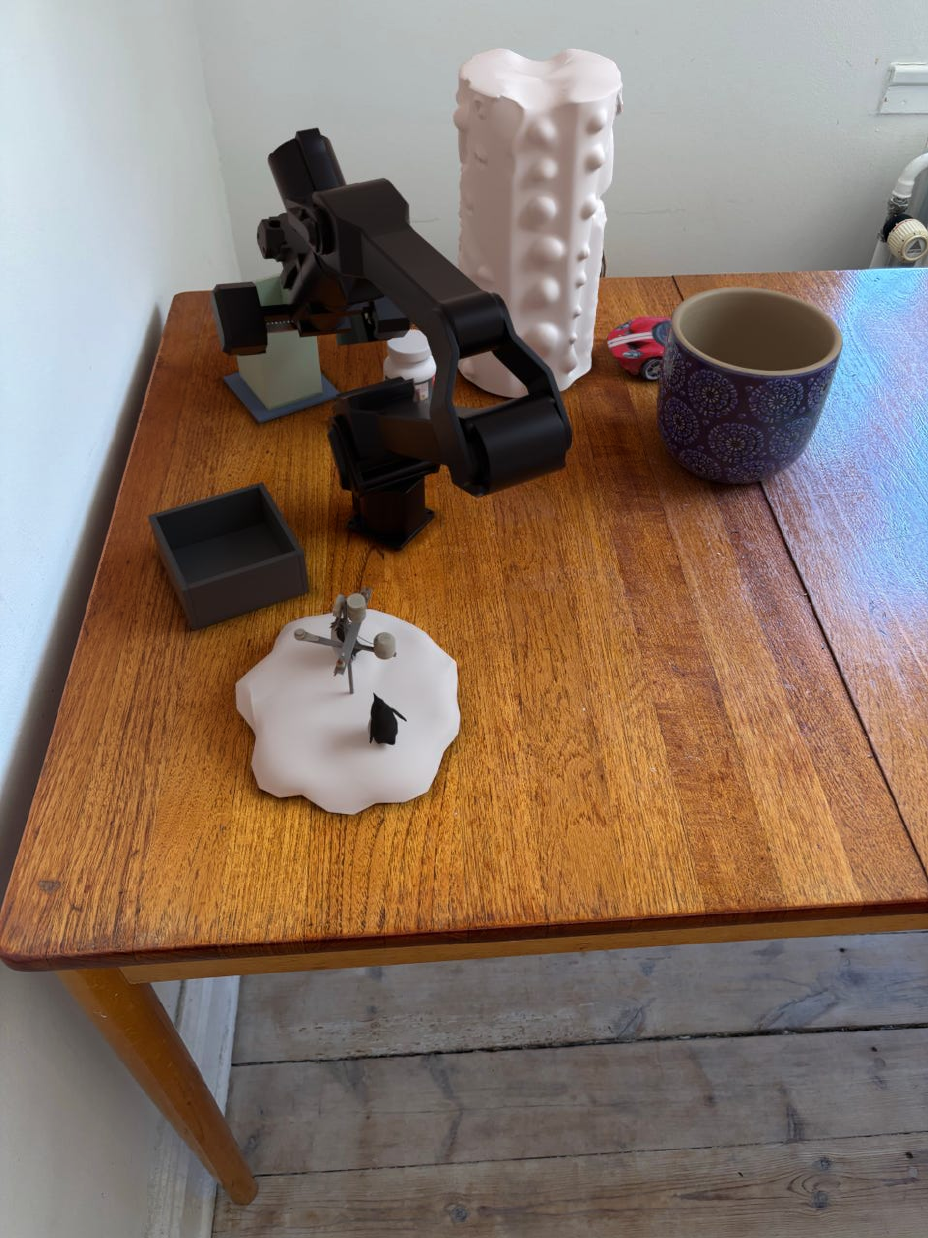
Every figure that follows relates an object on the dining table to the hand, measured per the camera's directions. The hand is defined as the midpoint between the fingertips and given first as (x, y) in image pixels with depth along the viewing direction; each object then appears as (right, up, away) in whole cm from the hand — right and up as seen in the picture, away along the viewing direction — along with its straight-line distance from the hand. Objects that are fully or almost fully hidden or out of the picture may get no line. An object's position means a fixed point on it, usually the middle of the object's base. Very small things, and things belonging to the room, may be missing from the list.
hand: (296, 345), depth 104 cm
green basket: (-3, -2, +11) cm, 12 cm away
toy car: (+45, +2, +16) cm, 48 cm away
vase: (+24, +2, +16) cm, 29 cm away
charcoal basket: (-4, -24, -10) cm, 26 cm away
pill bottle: (+12, -7, +7) cm, 15 cm away
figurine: (+8, -36, -21) cm, 42 cm away
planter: (+45, -11, +4) cm, 47 cm away
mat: (-3, -2, +11) cm, 12 cm away
